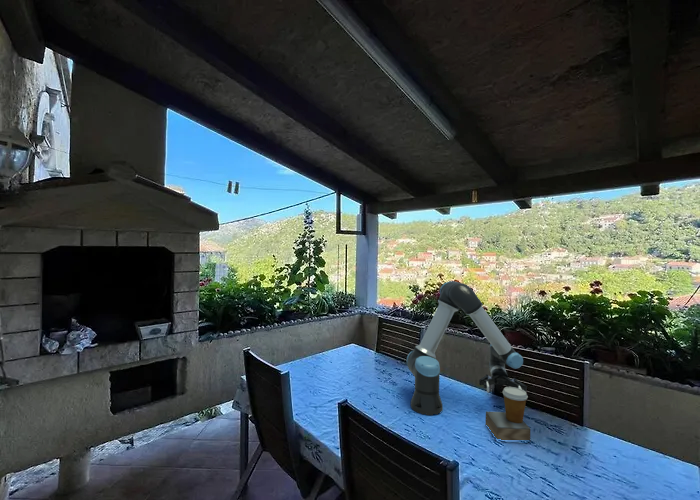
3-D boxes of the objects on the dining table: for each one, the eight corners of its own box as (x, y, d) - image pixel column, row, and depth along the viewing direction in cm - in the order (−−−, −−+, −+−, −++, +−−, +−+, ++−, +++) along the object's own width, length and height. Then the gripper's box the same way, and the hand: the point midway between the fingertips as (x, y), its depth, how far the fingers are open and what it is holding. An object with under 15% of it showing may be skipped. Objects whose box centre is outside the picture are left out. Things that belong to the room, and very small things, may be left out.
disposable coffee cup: (518, 427, 132) (519, 397, 132) (497, 417, 140) (497, 389, 140) (531, 421, 136) (532, 393, 137) (510, 412, 145) (511, 384, 145)
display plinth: (497, 441, 132) (497, 426, 132) (485, 424, 145) (485, 411, 145) (530, 443, 131) (530, 428, 131) (515, 426, 144) (515, 412, 144)
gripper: (526, 386, 162) (535, 405, 142) (473, 379, 170) (474, 395, 150) (526, 371, 163) (536, 387, 142) (473, 364, 171) (475, 379, 150)
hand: (504, 391), depth 146 cm, fingers open, 13 cm apart
